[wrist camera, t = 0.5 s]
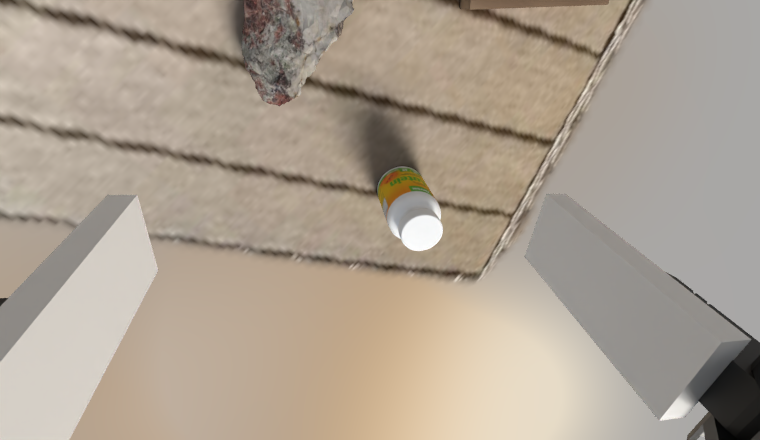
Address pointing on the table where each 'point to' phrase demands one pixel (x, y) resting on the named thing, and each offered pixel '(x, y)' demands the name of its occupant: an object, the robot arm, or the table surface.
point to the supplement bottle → (410, 208)
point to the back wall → (525, 3)
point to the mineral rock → (288, 42)
